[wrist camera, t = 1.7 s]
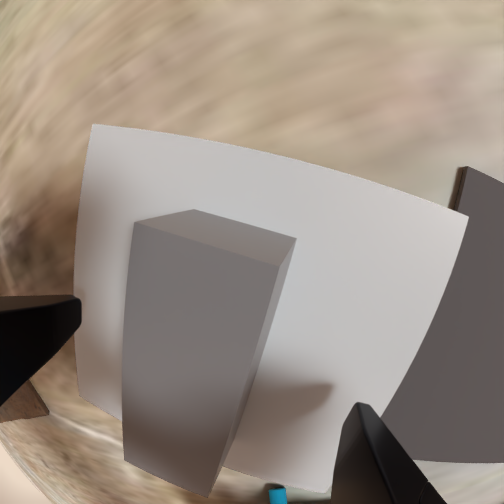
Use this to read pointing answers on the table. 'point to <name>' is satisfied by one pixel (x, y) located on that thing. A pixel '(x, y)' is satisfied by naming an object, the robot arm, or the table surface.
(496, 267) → the mat
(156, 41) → the table surface
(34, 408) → the wooden plank
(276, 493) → the gear
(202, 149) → the lid
